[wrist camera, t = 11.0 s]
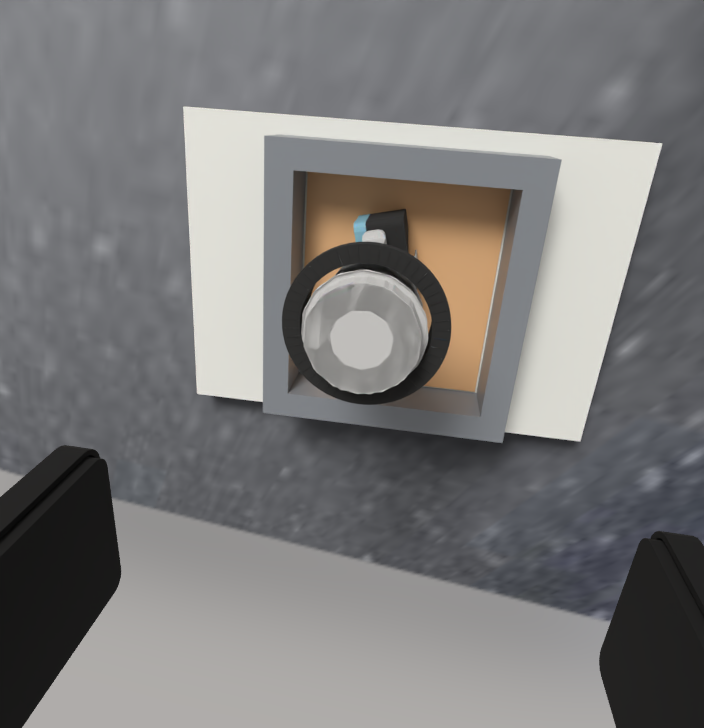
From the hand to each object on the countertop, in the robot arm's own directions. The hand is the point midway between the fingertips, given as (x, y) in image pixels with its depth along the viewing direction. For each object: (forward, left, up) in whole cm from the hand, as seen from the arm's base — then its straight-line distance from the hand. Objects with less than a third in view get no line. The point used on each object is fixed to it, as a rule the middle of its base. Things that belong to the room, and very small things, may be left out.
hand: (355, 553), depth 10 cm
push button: (+1, 0, -18) cm, 18 cm away
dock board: (0, 0, -19) cm, 19 cm away
